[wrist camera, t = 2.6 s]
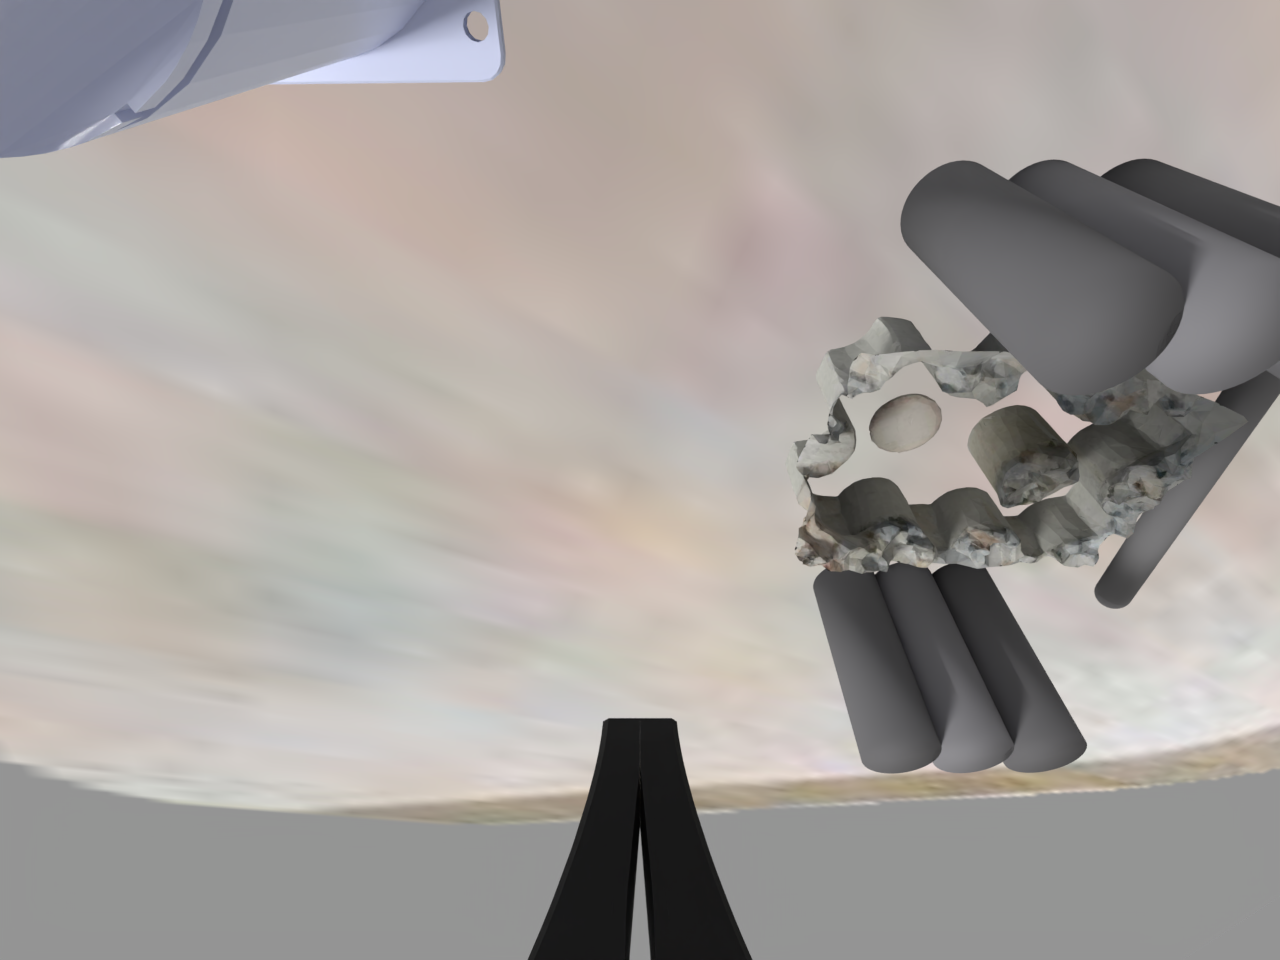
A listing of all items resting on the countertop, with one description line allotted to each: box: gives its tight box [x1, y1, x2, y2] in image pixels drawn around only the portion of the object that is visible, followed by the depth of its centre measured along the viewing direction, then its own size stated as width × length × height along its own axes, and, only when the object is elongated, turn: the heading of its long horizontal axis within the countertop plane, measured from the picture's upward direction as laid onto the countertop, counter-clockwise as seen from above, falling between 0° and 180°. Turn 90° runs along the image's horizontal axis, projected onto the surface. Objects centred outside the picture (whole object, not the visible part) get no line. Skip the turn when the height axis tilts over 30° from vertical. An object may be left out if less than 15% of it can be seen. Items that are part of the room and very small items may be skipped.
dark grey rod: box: [1094, 371, 1280, 609], centre depth 20 cm, size 15×1×1 cm, turn 1°
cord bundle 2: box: [900, 159, 1280, 396], centre depth 14 cm, size 2×7×7 cm, turn 91°
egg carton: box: [785, 317, 1248, 574], centre depth 19 cm, size 11×8×4 cm
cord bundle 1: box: [813, 562, 1087, 774], centre depth 22 cm, size 2×7×7 cm, turn 90°
